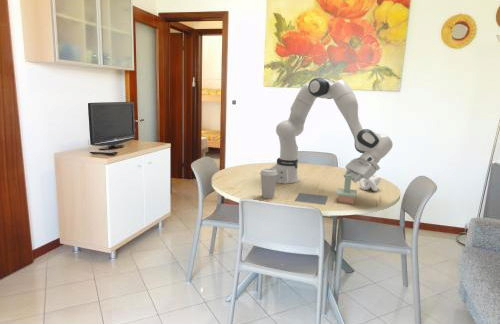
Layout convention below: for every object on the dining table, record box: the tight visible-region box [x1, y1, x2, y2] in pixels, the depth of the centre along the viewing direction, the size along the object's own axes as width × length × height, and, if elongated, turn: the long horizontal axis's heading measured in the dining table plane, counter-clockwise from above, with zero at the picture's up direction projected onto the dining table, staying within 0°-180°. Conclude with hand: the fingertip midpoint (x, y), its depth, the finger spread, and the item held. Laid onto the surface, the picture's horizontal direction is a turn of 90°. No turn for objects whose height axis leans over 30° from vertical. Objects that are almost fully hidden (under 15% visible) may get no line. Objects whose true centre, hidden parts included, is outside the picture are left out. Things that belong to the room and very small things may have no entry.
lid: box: [336, 173, 358, 198], centre depth 187 cm, size 10×10×10 cm
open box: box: [337, 195, 356, 206], centre depth 189 cm, size 8×8×4 cm
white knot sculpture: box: [359, 175, 382, 192], centre depth 213 cm, size 11×12×9 cm
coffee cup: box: [259, 167, 278, 199], centre depth 192 cm, size 10×10×15 cm
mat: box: [294, 192, 329, 205], centre depth 191 cm, size 16×16×1 cm
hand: (349, 179), depth 187 cm, fingers open, 8 cm apart
